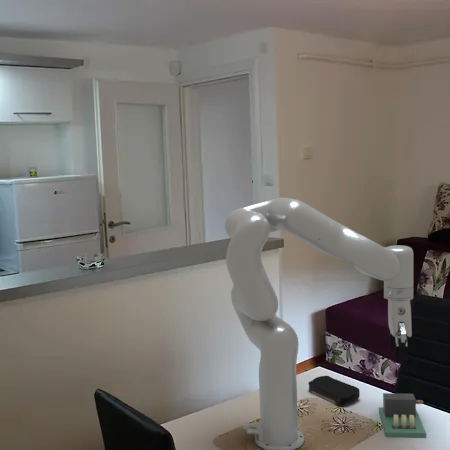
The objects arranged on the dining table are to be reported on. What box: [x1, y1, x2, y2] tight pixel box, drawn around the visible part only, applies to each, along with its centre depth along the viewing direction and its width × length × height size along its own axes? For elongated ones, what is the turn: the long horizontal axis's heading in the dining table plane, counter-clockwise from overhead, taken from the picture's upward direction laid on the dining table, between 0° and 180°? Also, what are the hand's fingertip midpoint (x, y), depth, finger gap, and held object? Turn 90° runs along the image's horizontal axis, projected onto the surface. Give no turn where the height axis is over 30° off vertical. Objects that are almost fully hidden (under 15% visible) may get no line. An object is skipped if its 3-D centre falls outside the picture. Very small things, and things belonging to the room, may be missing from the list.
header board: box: [378, 406, 427, 439], centre depth 160 cm, size 10×15×4 cm, turn 172°
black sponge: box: [308, 375, 361, 407], centre depth 180 cm, size 16×8×4 cm, turn 34°
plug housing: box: [382, 392, 424, 418], centre depth 163 cm, size 10×4×5 cm, turn 82°
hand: (398, 354), depth 161 cm, fingers open, 9 cm apart
